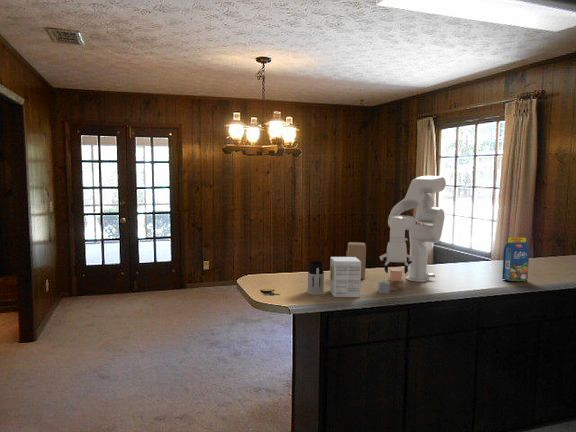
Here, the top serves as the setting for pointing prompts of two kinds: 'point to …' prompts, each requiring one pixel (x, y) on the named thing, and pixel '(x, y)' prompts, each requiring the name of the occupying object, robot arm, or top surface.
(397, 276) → the terracotta cube
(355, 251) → the block
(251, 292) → the top surface
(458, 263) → the top surface
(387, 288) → the slate grey cube
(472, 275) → the top surface
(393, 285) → the walnut base block
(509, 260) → the blue food package
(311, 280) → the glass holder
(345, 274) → the supplement box
